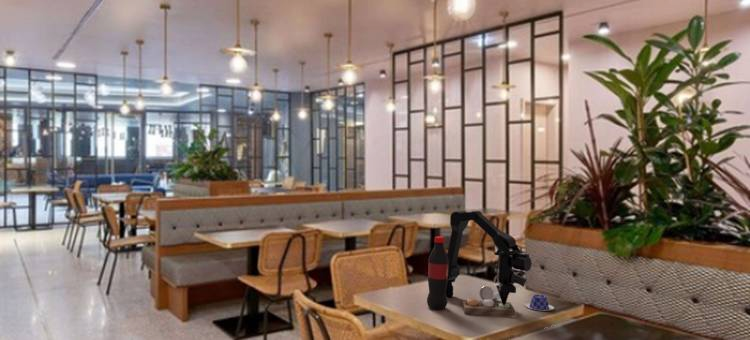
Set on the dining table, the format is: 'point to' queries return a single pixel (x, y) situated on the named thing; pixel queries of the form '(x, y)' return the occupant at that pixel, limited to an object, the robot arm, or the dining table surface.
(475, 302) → the brown rounded piece
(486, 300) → the cream button
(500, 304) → the green button
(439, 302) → the cola bottle
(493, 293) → the beer glass
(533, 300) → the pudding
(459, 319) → the dining table surface
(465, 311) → the button panel
